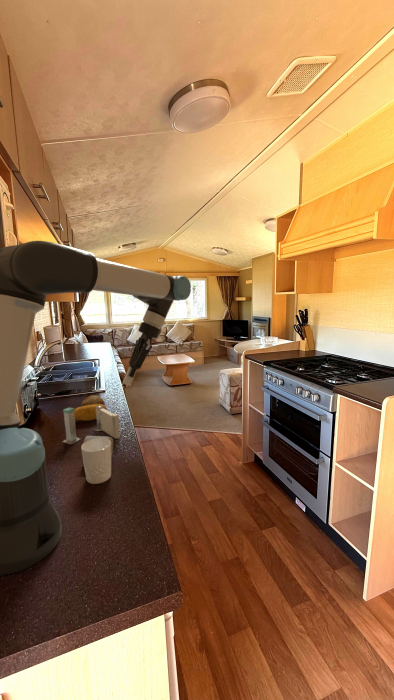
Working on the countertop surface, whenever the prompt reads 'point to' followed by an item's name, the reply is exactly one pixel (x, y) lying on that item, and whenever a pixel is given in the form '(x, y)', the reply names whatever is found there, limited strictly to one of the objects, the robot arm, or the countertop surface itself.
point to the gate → (109, 423)
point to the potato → (87, 412)
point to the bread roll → (93, 400)
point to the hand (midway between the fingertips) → (126, 384)
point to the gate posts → (71, 427)
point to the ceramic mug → (99, 437)
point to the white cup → (97, 460)
